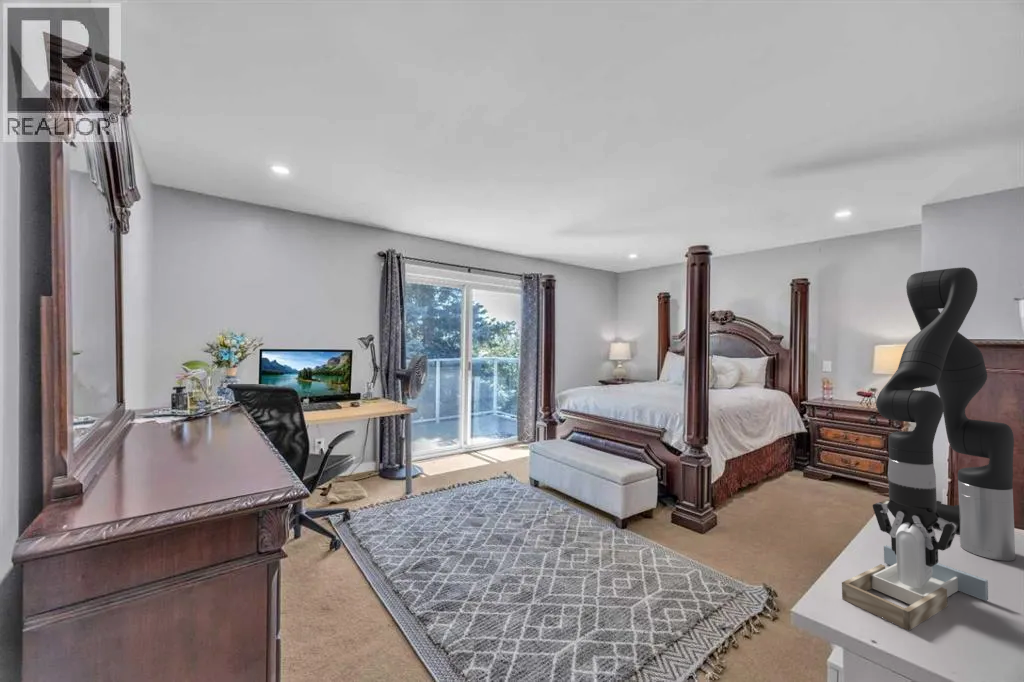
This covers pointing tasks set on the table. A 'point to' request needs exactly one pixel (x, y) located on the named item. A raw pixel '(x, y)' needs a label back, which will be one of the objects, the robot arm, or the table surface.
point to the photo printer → (911, 556)
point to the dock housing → (904, 617)
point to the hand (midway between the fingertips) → (914, 559)
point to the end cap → (948, 513)
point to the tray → (941, 577)
